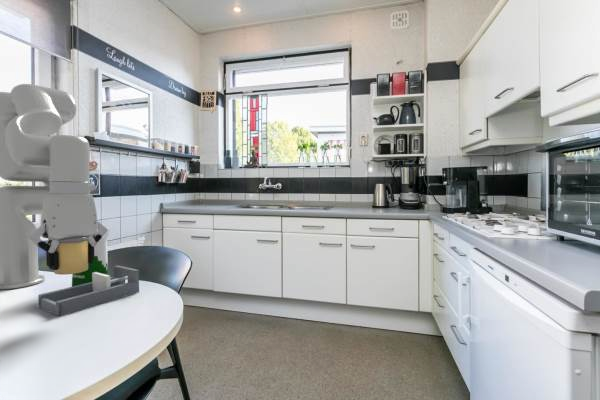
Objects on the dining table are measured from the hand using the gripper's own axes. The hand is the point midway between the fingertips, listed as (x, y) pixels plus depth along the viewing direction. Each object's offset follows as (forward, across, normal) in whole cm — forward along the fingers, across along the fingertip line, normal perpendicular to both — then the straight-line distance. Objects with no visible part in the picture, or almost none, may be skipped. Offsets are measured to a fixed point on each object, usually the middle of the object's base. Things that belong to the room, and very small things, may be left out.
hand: (71, 264), depth 72 cm
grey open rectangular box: (+13, -8, -9) cm, 17 cm away
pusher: (+12, -14, -9) cm, 21 cm away
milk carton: (+13, -14, -21) cm, 28 cm away
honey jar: (+1, 0, 0) cm, 1 cm away
